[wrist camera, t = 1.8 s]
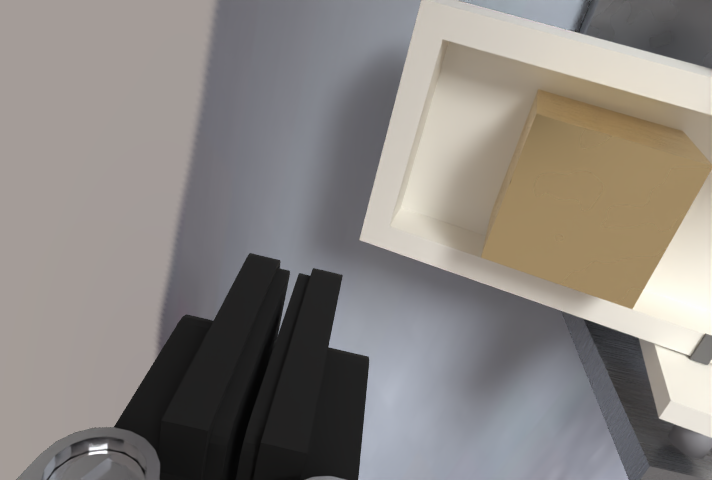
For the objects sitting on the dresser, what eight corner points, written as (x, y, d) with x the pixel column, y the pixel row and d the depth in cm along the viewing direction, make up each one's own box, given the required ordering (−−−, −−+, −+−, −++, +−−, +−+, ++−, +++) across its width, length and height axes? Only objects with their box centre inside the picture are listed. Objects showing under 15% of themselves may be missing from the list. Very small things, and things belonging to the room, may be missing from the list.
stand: (619, -72, 22) (835, -83, 11) (858, -11, 23) (1311, 41, 11) (485, 269, 30) (529, 470, 19) (663, 312, 31) (814, 536, 19)
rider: (537, 89, 20) (536, 113, 16) (683, 131, 19) (713, 165, 16) (490, 213, 22) (480, 257, 19) (618, 255, 21) (632, 309, 18)
